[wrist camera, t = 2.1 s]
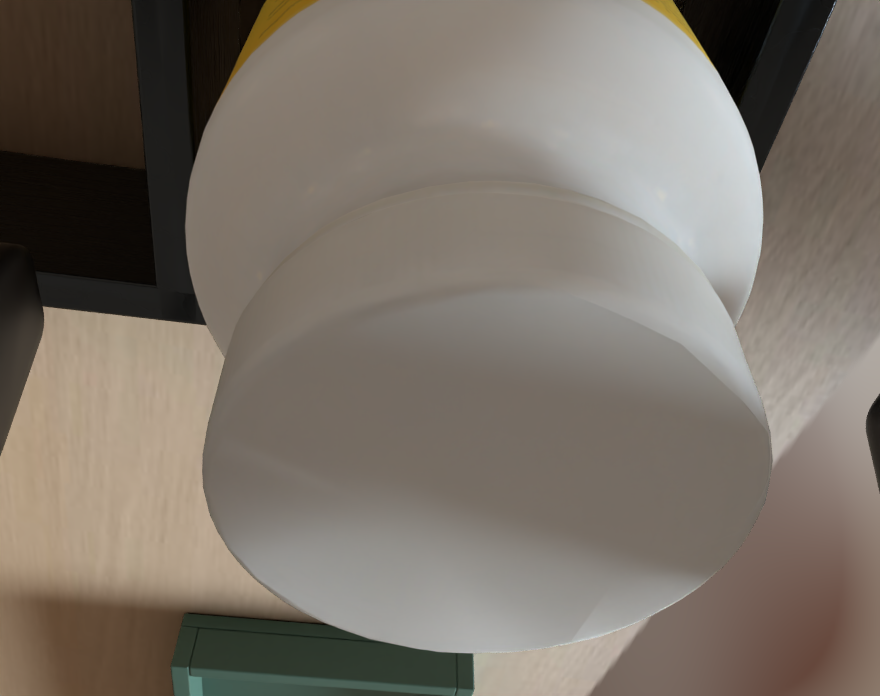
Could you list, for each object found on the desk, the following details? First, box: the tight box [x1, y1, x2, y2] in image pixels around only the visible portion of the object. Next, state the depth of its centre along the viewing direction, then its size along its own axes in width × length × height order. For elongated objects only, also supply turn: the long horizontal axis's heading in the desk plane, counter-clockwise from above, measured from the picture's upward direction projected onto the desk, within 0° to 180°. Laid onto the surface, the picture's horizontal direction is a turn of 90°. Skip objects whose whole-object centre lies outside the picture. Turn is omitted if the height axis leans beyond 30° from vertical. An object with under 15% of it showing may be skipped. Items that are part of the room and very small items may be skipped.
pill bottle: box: [185, 0, 773, 653], centre depth 11 cm, size 6×6×12 cm
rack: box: [0, 0, 837, 325], centre depth 14 cm, size 19×10×4 cm, turn 81°
